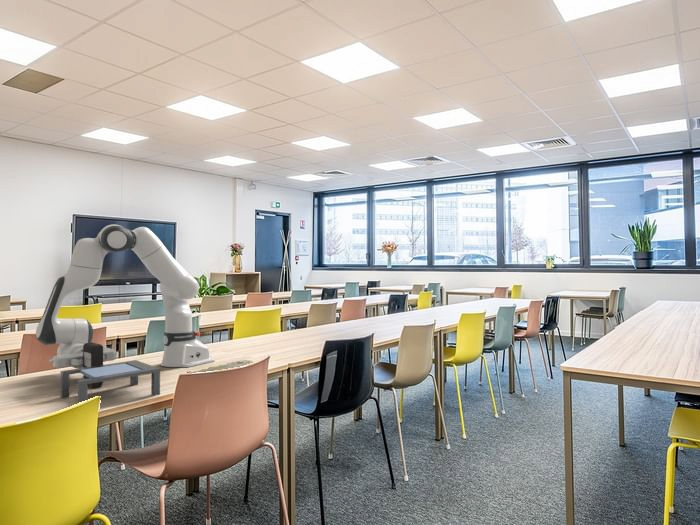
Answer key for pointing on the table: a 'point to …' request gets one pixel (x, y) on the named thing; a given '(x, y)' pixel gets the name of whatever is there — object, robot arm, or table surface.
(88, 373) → the trapdoor
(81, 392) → the stand
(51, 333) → the robot arm
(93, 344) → the card reader
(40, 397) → the table surface
